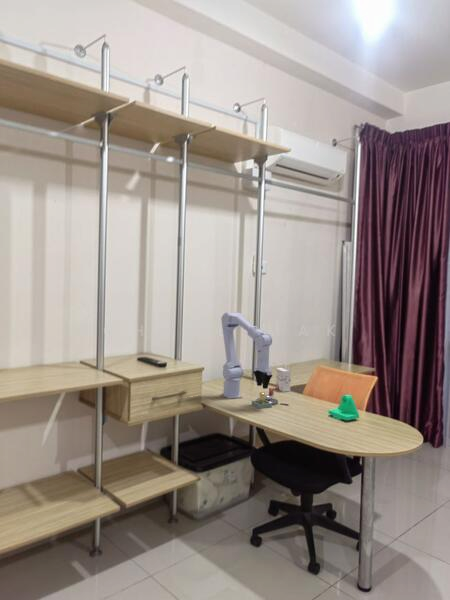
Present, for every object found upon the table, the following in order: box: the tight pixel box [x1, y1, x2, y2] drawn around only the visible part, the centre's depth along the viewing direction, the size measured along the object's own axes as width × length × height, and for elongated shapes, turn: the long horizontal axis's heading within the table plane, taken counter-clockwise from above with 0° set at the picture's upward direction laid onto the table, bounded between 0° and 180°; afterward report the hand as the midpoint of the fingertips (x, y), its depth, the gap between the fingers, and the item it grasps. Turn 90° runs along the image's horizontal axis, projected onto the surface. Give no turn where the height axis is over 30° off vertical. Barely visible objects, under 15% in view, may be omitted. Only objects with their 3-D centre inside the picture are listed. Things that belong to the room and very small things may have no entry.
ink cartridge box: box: [275, 362, 292, 393], centre depth 271 cm, size 9×5×15 cm, turn 22°
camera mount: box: [328, 394, 360, 421], centre depth 220 cm, size 12×8×10 cm, turn 31°
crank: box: [265, 387, 275, 401], centre depth 246 cm, size 10×4×4 cm, turn 158°
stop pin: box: [258, 391, 266, 404], centre depth 237 cm, size 3×3×6 cm
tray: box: [251, 399, 273, 409], centre depth 237 cm, size 7×7×2 cm
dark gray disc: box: [255, 397, 279, 406], centre depth 244 cm, size 11×11×1 cm
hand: (262, 386), depth 236 cm, fingers open, 6 cm apart
